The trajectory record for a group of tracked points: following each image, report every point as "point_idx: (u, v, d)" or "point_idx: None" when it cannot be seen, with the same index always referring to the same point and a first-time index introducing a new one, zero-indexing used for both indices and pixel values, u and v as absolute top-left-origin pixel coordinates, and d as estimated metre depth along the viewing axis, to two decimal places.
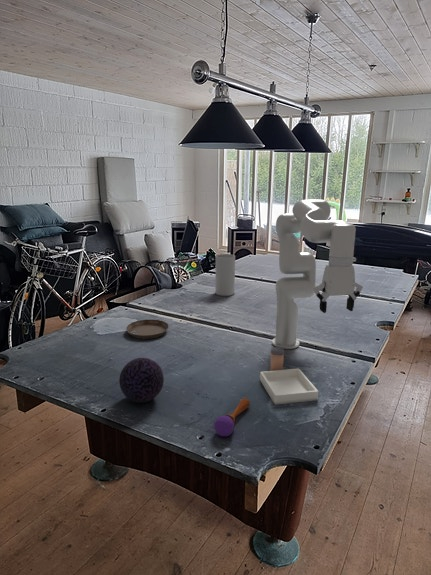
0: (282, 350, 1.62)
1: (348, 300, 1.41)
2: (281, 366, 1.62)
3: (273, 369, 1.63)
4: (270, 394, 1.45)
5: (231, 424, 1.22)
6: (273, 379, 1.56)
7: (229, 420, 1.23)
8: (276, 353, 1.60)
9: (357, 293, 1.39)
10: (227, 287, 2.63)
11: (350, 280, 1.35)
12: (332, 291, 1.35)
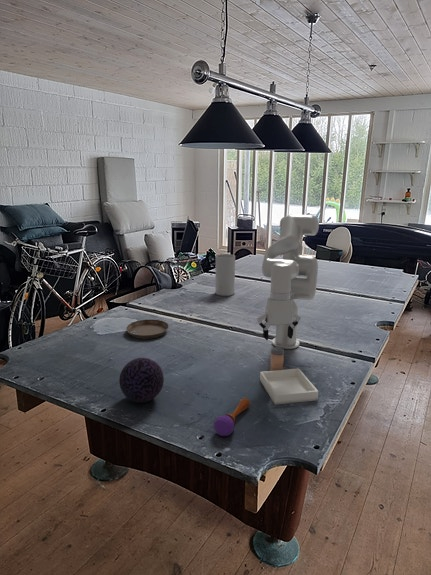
0: (282, 350, 1.62)
1: (288, 329, 1.61)
2: (281, 366, 1.62)
3: (273, 369, 1.63)
4: (270, 394, 1.45)
5: (231, 424, 1.23)
6: (273, 379, 1.56)
7: (229, 420, 1.23)
8: (276, 353, 1.60)
9: (296, 323, 1.59)
10: (227, 287, 2.63)
11: (288, 312, 1.56)
12: (272, 321, 1.56)
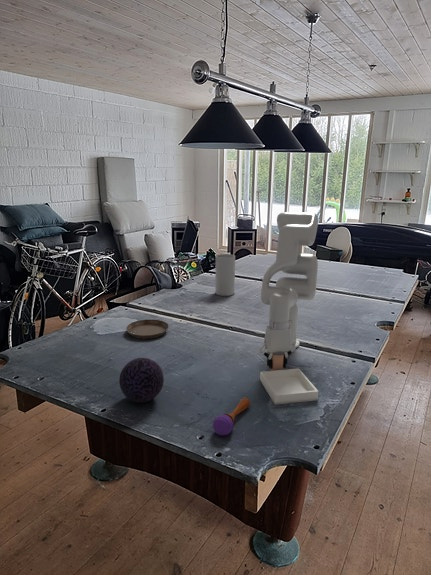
0: None
1: None
2: (281, 366, 1.62)
3: (273, 369, 1.63)
4: (270, 394, 1.45)
5: (230, 423, 1.23)
6: (273, 379, 1.56)
7: (228, 419, 1.23)
8: (276, 353, 1.60)
9: (289, 352, 1.63)
10: (227, 287, 2.63)
11: (287, 340, 1.59)
12: (271, 349, 1.59)
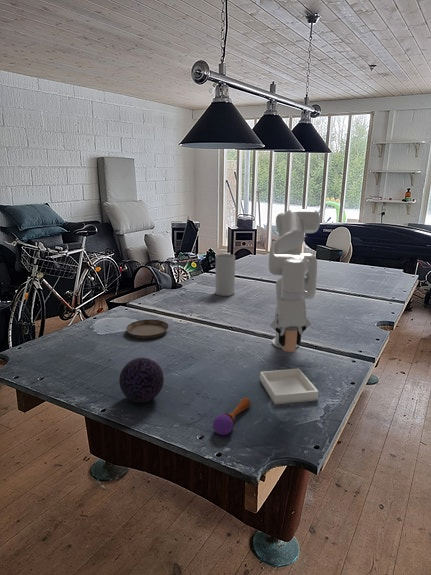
0: None
1: None
2: (294, 343, 1.44)
3: (285, 346, 1.44)
4: (270, 394, 1.45)
5: (230, 423, 1.23)
6: (273, 379, 1.56)
7: (228, 419, 1.23)
8: (289, 328, 1.42)
9: (303, 328, 1.45)
10: (227, 287, 2.63)
11: (301, 313, 1.41)
12: (284, 323, 1.41)
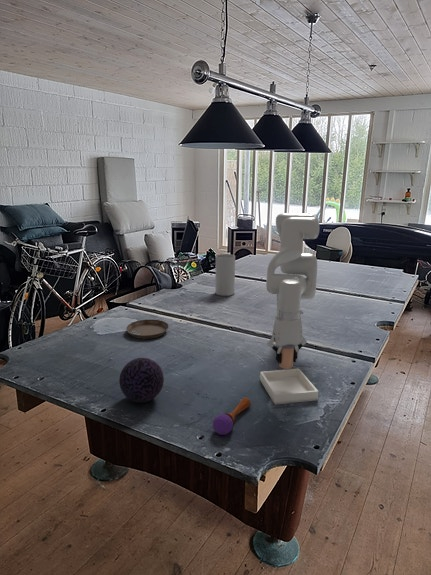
0: None
1: None
2: (291, 360, 1.48)
3: (282, 364, 1.49)
4: (270, 394, 1.45)
5: (229, 423, 1.23)
6: (273, 379, 1.56)
7: (228, 419, 1.24)
8: (286, 346, 1.46)
9: (300, 346, 1.49)
10: (227, 287, 2.63)
11: (297, 332, 1.46)
12: (281, 342, 1.46)
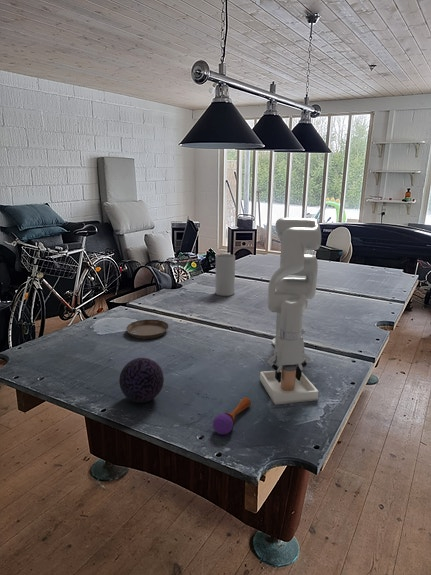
0: (294, 365, 1.47)
1: (296, 370, 1.50)
2: (293, 383, 1.48)
3: (284, 386, 1.48)
4: (270, 394, 1.45)
5: (230, 422, 1.23)
6: (273, 379, 1.56)
7: (228, 418, 1.24)
8: (288, 369, 1.46)
9: (304, 364, 1.48)
10: (227, 287, 2.63)
11: (299, 351, 1.45)
12: (283, 361, 1.45)
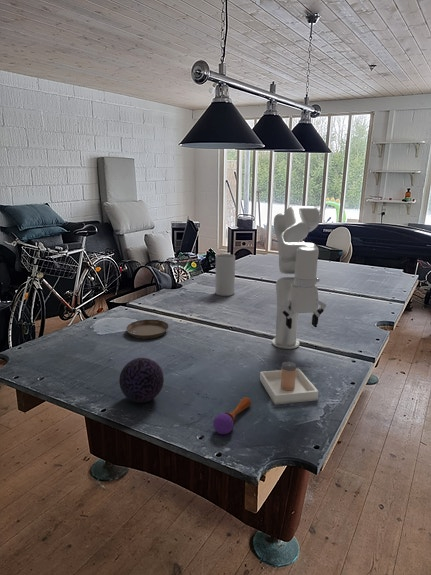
0: (294, 365, 1.48)
1: (313, 317, 1.51)
2: (293, 382, 1.48)
3: (284, 386, 1.48)
4: (270, 394, 1.45)
5: (230, 422, 1.23)
6: (273, 379, 1.56)
7: (228, 418, 1.24)
8: (288, 368, 1.46)
9: (321, 311, 1.50)
10: (227, 287, 2.63)
11: (313, 299, 1.46)
12: (296, 309, 1.46)
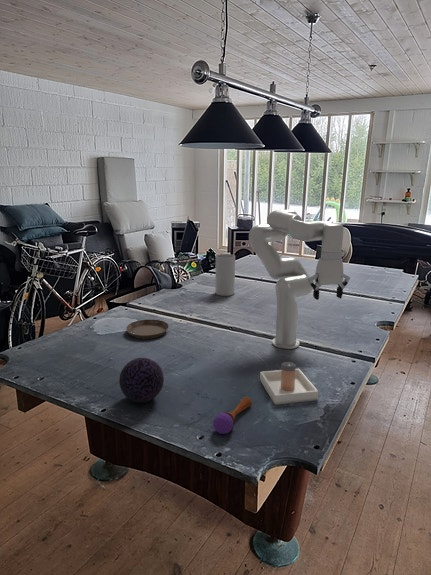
0: (294, 365, 1.48)
1: (338, 289, 1.64)
2: (293, 383, 1.48)
3: (284, 386, 1.48)
4: (270, 394, 1.45)
5: (230, 422, 1.24)
6: (273, 379, 1.56)
7: (228, 418, 1.24)
8: (287, 369, 1.46)
9: (345, 283, 1.63)
10: (227, 287, 2.63)
11: (339, 272, 1.59)
12: (324, 281, 1.59)
